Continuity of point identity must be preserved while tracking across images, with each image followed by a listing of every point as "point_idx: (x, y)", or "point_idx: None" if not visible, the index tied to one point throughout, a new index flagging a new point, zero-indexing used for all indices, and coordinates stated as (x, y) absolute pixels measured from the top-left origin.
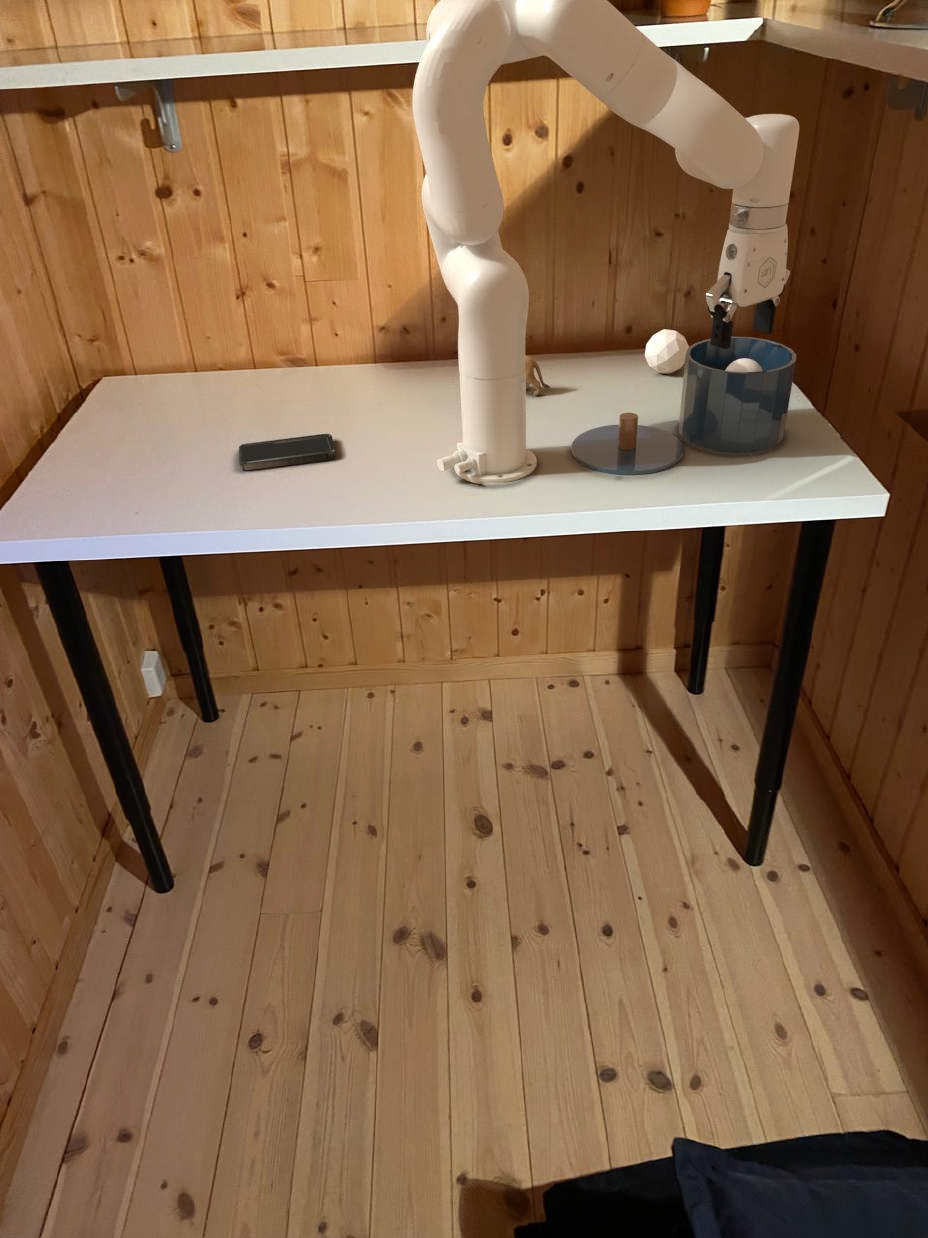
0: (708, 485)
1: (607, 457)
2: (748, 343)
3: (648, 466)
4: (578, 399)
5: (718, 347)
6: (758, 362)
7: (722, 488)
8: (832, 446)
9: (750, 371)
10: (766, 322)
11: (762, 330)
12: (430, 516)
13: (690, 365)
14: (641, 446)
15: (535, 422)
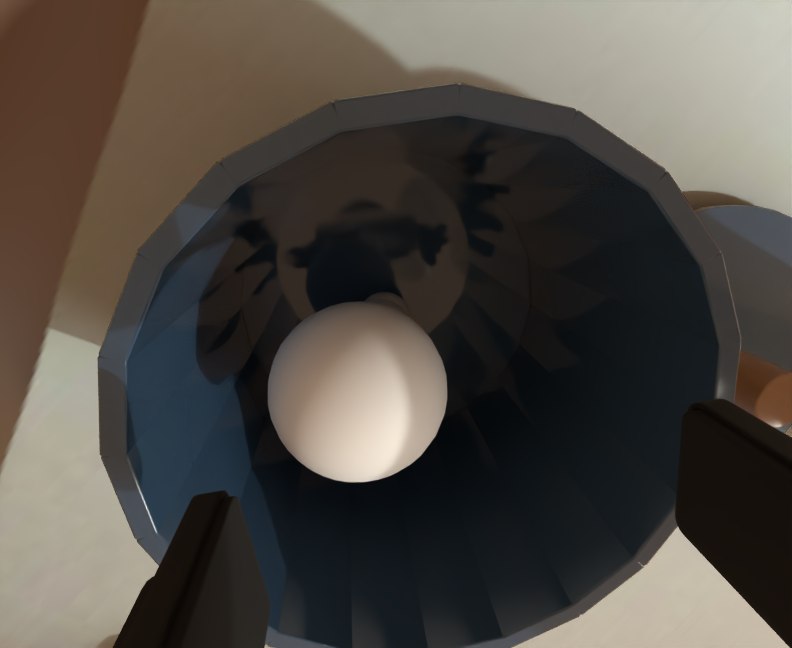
0: (687, 63)
1: (783, 333)
2: None
3: (759, 229)
4: (544, 638)
5: (358, 609)
6: (211, 465)
7: (674, 19)
8: (162, 32)
9: (387, 352)
10: (222, 588)
11: (247, 547)
12: None
13: None
14: None
15: (700, 580)
